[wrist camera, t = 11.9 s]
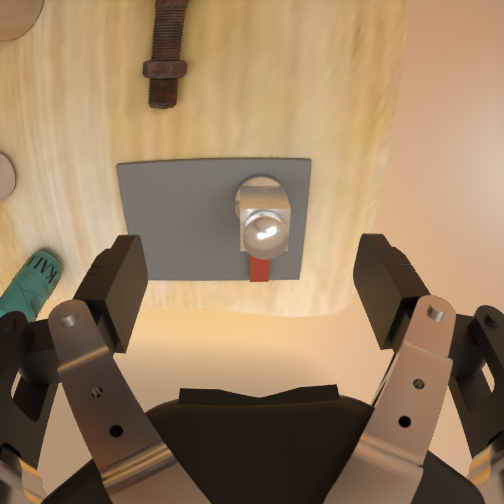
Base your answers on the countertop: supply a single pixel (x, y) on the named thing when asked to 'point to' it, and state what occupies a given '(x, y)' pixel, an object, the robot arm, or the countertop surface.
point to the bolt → (166, 54)
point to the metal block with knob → (264, 221)
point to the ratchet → (257, 266)
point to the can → (6, 178)
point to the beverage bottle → (31, 286)
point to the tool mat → (206, 215)
